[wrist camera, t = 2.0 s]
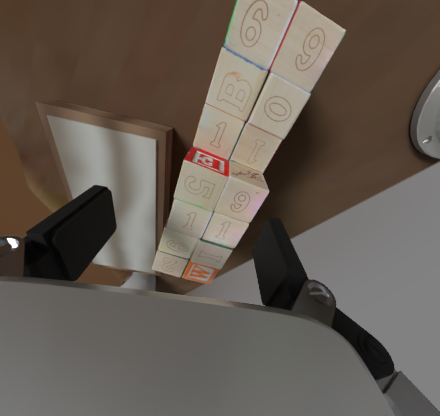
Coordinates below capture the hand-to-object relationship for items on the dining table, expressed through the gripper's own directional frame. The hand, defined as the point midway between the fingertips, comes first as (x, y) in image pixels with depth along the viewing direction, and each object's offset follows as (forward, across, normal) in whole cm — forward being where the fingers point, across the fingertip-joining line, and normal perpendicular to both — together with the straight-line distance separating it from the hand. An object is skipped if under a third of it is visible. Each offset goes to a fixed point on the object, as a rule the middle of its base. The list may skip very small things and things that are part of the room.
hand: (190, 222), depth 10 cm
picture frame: (+14, +11, +10) cm, 21 cm away
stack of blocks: (+14, -2, -1) cm, 15 cm away
